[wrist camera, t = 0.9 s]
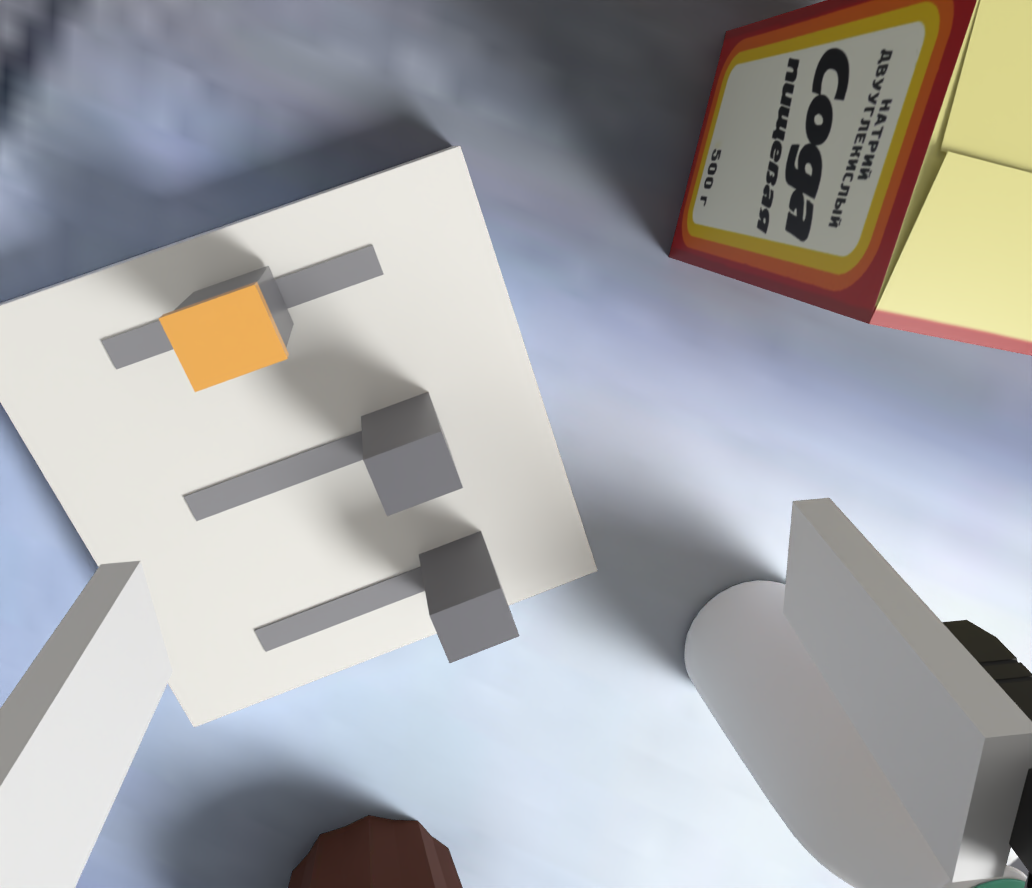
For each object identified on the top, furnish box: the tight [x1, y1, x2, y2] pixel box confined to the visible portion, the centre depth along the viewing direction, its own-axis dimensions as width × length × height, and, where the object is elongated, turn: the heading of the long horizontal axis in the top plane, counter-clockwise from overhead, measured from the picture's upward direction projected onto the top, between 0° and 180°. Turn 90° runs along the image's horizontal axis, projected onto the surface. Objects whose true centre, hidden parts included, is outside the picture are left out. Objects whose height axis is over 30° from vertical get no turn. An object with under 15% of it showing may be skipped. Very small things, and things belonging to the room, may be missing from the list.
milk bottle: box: [685, 580, 1027, 888], centre depth 36 cm, size 8×8×20 cm
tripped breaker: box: [159, 266, 294, 392], centre depth 30 cm, size 3×3×6 cm
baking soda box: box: [669, 0, 1032, 356], centre depth 30 cm, size 10×6×16 cm
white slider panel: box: [0, 146, 598, 727], centre depth 34 cm, size 20×20×8 cm
